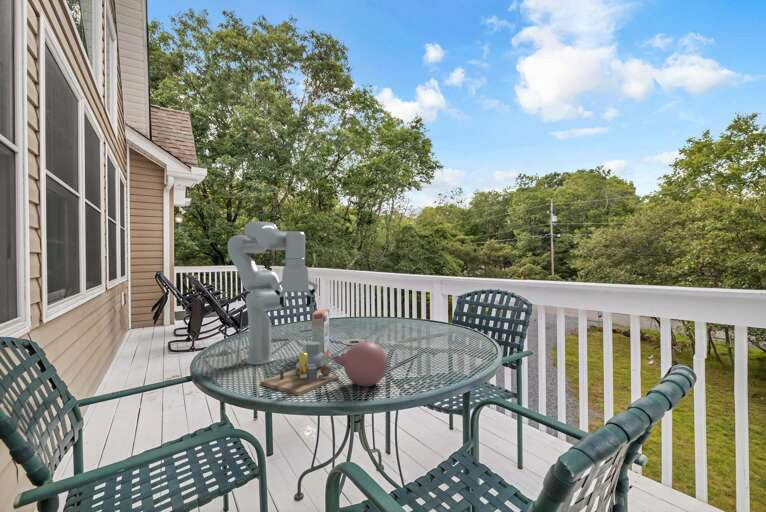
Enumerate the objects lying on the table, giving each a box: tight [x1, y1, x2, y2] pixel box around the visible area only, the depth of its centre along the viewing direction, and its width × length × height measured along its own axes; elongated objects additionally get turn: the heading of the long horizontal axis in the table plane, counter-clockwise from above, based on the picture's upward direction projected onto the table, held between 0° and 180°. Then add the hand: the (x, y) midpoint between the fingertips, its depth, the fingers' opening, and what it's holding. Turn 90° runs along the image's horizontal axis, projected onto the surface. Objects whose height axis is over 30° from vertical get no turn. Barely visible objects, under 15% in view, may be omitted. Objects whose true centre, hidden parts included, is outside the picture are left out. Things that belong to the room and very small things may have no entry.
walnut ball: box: [319, 363, 332, 375], centre depth 139 cm, size 4×4×4 cm
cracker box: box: [311, 308, 330, 357], centre depth 172 cm, size 14×6×21 cm, turn 179°
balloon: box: [331, 340, 388, 387], centre depth 133 cm, size 15×20×15 cm
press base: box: [259, 364, 339, 397], centre depth 137 cm, size 20×20×6 cm
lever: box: [295, 351, 308, 378], centre depth 137 cm, size 16×4×9 cm, turn 15°
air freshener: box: [305, 341, 327, 369], centre depth 156 cm, size 11×8×10 cm
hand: (295, 306), depth 146 cm, fingers open, 9 cm apart
